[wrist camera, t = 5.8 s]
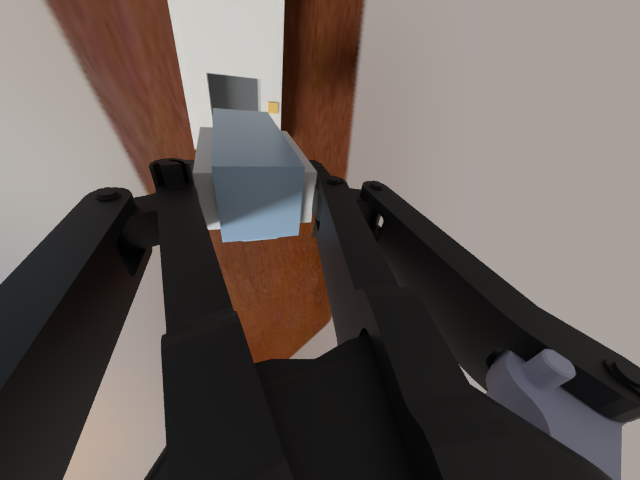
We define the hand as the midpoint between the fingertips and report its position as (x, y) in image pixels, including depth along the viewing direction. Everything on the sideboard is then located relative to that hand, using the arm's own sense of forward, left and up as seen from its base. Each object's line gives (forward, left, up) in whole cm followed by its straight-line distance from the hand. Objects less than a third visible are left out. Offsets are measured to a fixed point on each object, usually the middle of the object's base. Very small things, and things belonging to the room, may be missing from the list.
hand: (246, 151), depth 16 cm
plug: (0, 0, -3) cm, 3 cm away
